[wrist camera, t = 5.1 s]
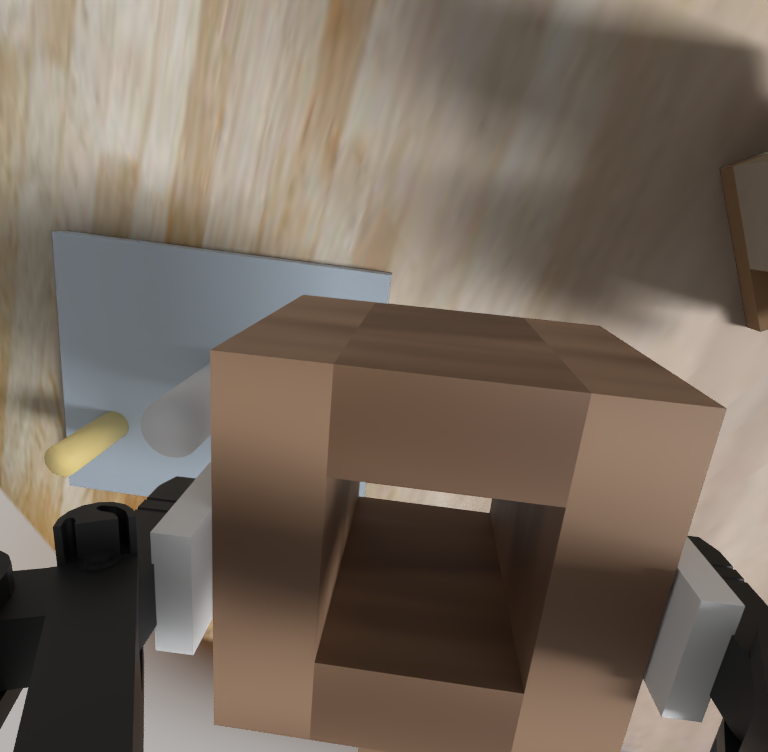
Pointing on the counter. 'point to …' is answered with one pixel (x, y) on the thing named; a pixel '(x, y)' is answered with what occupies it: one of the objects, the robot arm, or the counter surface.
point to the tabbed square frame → (443, 526)
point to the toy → (750, 232)
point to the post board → (161, 348)
